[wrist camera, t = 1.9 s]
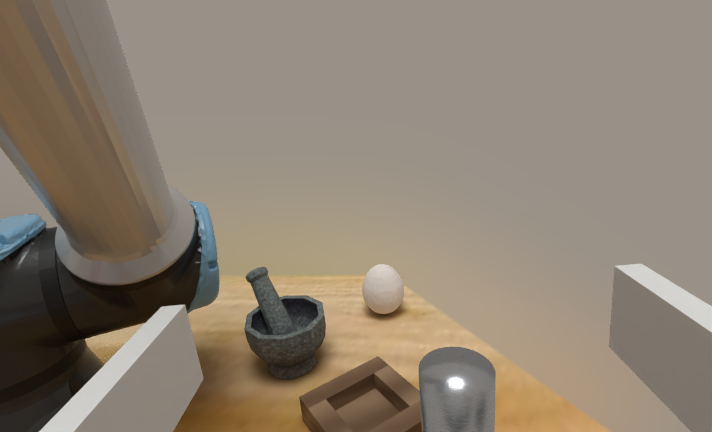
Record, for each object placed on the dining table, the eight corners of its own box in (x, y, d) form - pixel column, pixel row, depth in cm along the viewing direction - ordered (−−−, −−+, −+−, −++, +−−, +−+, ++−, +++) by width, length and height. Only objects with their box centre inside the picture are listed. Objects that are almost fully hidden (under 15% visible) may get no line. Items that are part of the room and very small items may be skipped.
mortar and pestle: (346, 358, 52) (335, 273, 48) (286, 402, 46) (268, 308, 42) (292, 327, 60) (279, 251, 56) (234, 361, 53) (216, 278, 50)
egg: (356, 311, 62) (351, 265, 60) (387, 296, 65) (383, 253, 63) (381, 328, 57) (377, 279, 55) (413, 311, 60) (411, 265, 58)
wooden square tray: (303, 419, 43) (299, 397, 42) (379, 377, 48) (378, 356, 47) (354, 493, 35) (351, 466, 34) (440, 433, 40) (440, 408, 39)
